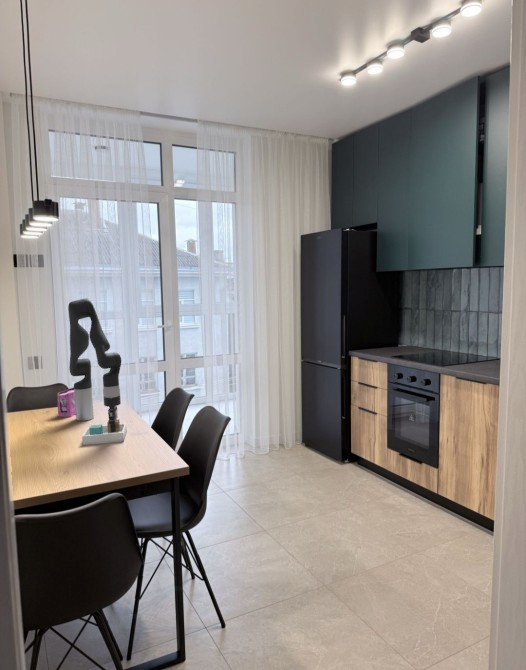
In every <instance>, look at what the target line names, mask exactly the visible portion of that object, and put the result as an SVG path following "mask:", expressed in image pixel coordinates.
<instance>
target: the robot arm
mask: <svg viewBox="0 0 526 670" xmlns="http://www.w3.org/2000/svg"><path fill="white" fill-rule="evenodd" d="M67 307H68V311H67V312H68V318H69V320H68V321H69V351H70V355H69V356H70V357H69V368H68V369H69V374H70V375H71V376H72V377H82V376H84V377H83V378H82V379H81V380H78V381H76V382H74V384H73V387H74V397H75V411H76V414H75V419H76V421H78V422H79V421H80V422H81V421H83V422H84V421H90V420H93V419H94V417H95V415H94V400H93V386H92V363H91V360H90V359H89V358H80V357H81V356H82V355H83V354H84V353H85V352H86V350H87V349H88V348H89V345H90V342H91V345H92V348H94V351H95V356H96V359H97V360H96V362H97V365H98V366H99V367H100V368H101V369H104V370H106V369H107V370H108V369H109V371H108V372H106V373H104V374H103V375H102V385H103V386H102V387H103V388H102V393H103V406H104V407H109V408H108V409H107V415H108V420H109V424H110V426H111V432H116V425H115V424H116V421H115V420H117V419H119V418H118V406H120V405H121V388H120V382H119V381H120V379H119V377H120V376H119V374H120V372H121V371H120V370H121V366H122V357H121V355H120V354H119V353H118V352H115V351H114V352H113V351H112V352H109V350H110V349H111V344H110V343H109V340H108V339H107V336H106V335H105V332H104V330H103V328H102V326H101V322H100V319H99V317H98V313H97V311H96V308H95V307H94V304H93V302H92V301H91V299H90V298H81V299H76V300H72V301H70V302H69V303H68V306H67ZM87 318H89V319H90V322H91V323H90V325H91V326H90V329H89V332H88V331H87V329H86V328H84V327H83V326H82V325H81V324H80V323H79V320H82V319H87ZM106 352H107V353H106ZM111 420H113V421H112V422H111Z"/></svg>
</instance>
